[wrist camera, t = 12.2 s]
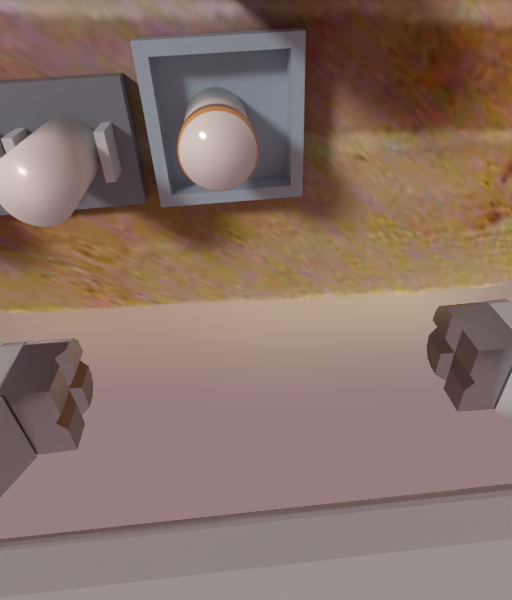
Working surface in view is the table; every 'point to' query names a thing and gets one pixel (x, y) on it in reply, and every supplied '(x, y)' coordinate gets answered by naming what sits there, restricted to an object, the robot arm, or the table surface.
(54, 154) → the fuse block
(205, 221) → the table surface
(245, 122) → the cylinder
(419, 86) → the table surface
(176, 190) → the tray
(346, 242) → the table surface
